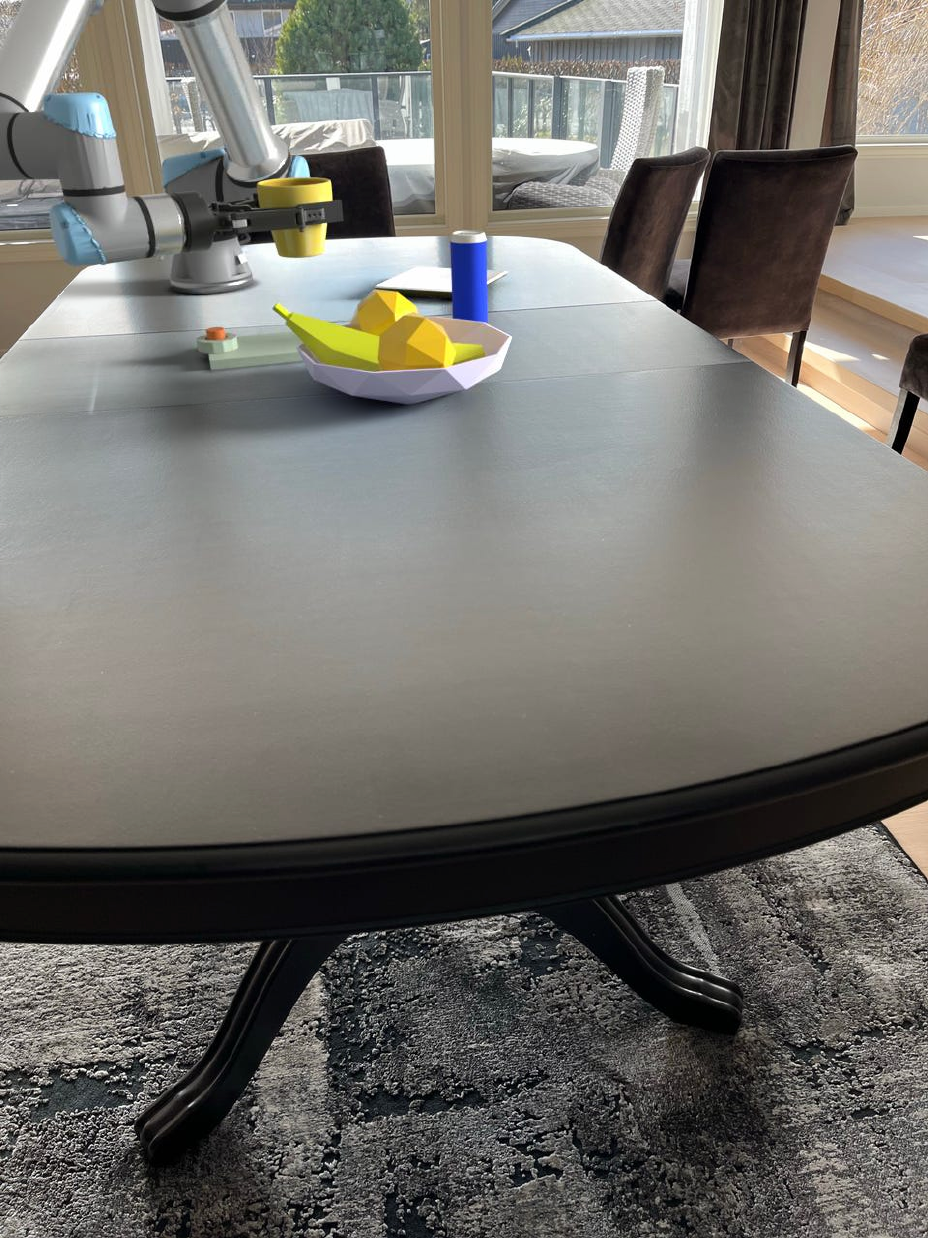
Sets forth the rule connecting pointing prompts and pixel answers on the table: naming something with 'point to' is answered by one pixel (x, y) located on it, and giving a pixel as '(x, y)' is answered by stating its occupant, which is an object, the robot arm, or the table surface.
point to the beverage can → (469, 275)
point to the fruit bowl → (397, 350)
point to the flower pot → (290, 195)
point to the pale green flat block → (250, 349)
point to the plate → (428, 282)
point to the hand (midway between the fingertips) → (322, 206)
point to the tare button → (215, 333)
